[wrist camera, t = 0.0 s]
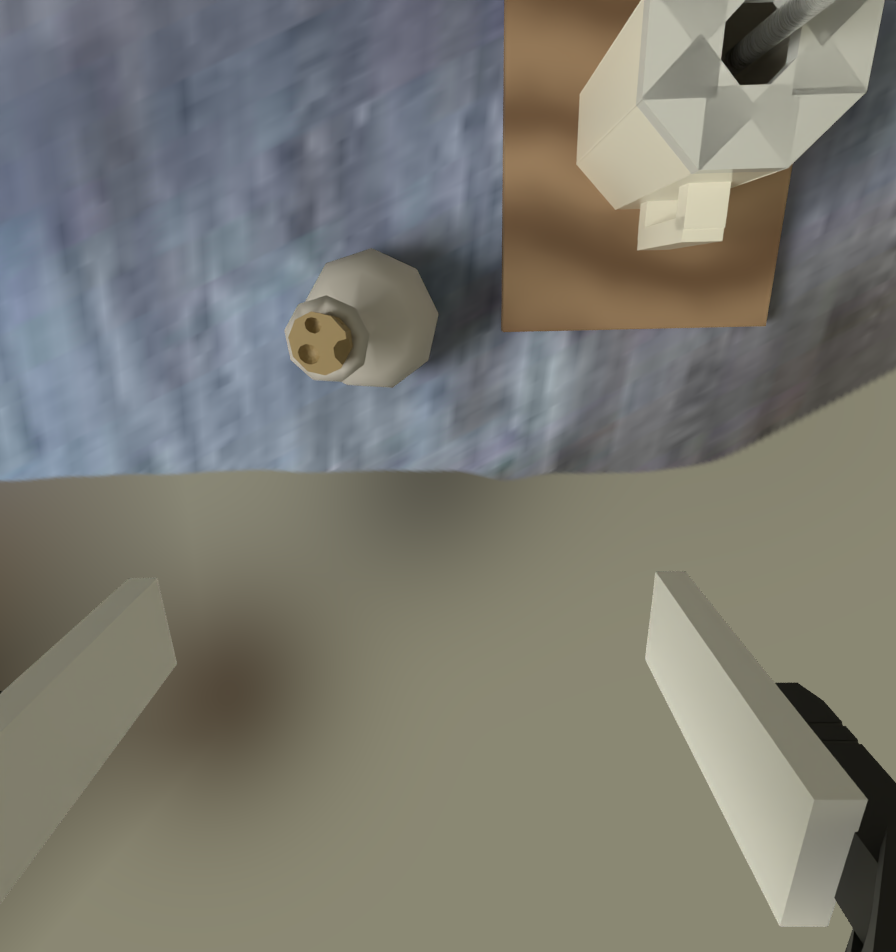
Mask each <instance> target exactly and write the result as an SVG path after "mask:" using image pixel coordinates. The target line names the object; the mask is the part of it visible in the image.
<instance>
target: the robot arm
mask: <svg viewBox="0 0 896 952" xmlns="http://www.w3.org/2000/svg"><path fill="white" fill-rule="evenodd" d="M645 660H646V662H647V664H648V666H649V668H650V670H651V672H652V674H653V676H654V678H655V680H656V682H657V684H658V686H659V688H660V689H661V692H662V694H663V696H664V698H665V699H666V702H667V704H668V706H669V707H670V710H671V711H672V713H673V715H674V717H675V719H676V721H677V723H678V725H679V727H680V729H681V731H682V733H683V735H684V737H685V739H686V741H687V743H688V745H689V747H690V749H691V751H692V753H693V755H694V757H695V759H696V761H697V763H698V765H699V767H700V769H701V771H702V773H703V775H704V777H705V779H706V781H707V783H708V785H709V787H710V789H711V791H712V793H713V795H714V797H715V799H716V801H717V803H718V805H719V807H720V809H721V811H722V813H723V814H724V817H725V819H726V821H727V823H728V824H729V827H730V828H731V830H732V832H733V834H734V836H735V838H736V840H737V842H738V844H739V846H740V848H741V850H742V852H743V854H744V856H745V858H746V860H747V862H748V864H749V866H750V868H751V870H752V872H753V874H754V876H755V878H756V880H757V882H758V884H759V886H760V888H761V890H762V892H763V894H764V896H765V898H766V900H767V902H768V904H769V906H770V908H771V910H772V912H773V914H774V916H775V918H776V920H777V922H778V924H779V926H782V927H815V926H816V927H823V926H825V927H827V926H828V925H829V921H830V918H831V915H832V912H833V909H834V906H835V902H836V901H837V903H838V905H839V906H840V908H841V909H842V911H843V913H844V914H845V916H846V917H847V919H848V921H849V922H850V924H851V926H852V927H853V930H852V933H851V936H850V939H849V942H848V945H847V948H846V951H845V952H896V783H895V782H894V780H893V779H892V778H891V777H890V776H889V775H888V774H887V772H886V771H885V770H884V769H883V768H882V767H881V766H880V765H879V763H878V762H877V761H876V760H875V759H874V758H873V757H872V755H871V754H870V753H869V752H868V751H867V750H866V749H865V747H864V746H863V745H862V744H859V743H858V740H857V738H855V736H854V735H853V734H852V733H851V732H850V730H848V728H847V727H846V726H843V725H842V721H841V720H840V719H839V718H838V717H837V716H836V715H835V713H834V712H833V711H832V710H831V709H830V708H829V707H828V705H827V704H826V703H825V702H824V701H823V700H821V699H820V698H819V697H817V696H816V695H814V694H813V693H811V692H810V691H808V690H807V689H806V688H804V687H803V686H801V685H800V684H798V683H774V681H773V680H772V679H771V678H770V676H769V675H768V674H767V673H766V671H765V670H764V669H763V668H762V667H761V665H760V664H759V663H758V661H757V660H756V659H755V658H754V656H753V655H752V654H751V653H750V651H749V650H748V649H747V648H746V646H745V645H744V644H743V643H742V641H741V640H740V639H739V638H738V637H737V635H736V634H735V633H734V632H733V630H732V629H731V628H730V626H729V625H728V624H727V623H726V621H725V620H724V619H723V618H722V616H721V615H720V614H719V613H718V611H717V610H716V609H715V608H714V606H713V605H712V604H711V603H710V601H709V600H708V599H707V598H706V596H705V595H704V594H703V593H702V591H701V590H700V589H699V588H698V587H697V585H696V584H695V583H694V581H693V580H692V579H691V578H690V576H689V575H688V574H687V573H686V572H685V571H658V572H656V573H655V581H654V590H653V598H652V607H651V615H650V624H649V632H648V641H647V649H646V657H645ZM176 665H177V662H176V658H175V653H174V649H173V644H172V640H171V636H170V631H169V627H168V623H167V618H166V614H165V609H164V605H163V601H162V596H161V592H160V587H159V583H158V579H157V578H129V579H128V580H126V581H125V582H124V583H123V584H122V585H121V586H120V587H119V588H117V589H116V590H115V591H114V592H113V593H112V594H111V595H110V596H109V597H107V598H106V599H105V600H104V601H103V602H102V603H101V604H100V605H99V606H98V607H96V608H95V609H94V610H93V611H92V612H91V613H90V614H89V615H87V616H86V617H85V618H84V619H83V620H82V621H81V622H80V623H79V624H77V625H76V626H75V627H74V628H73V629H72V630H71V631H70V632H69V633H67V634H66V635H65V636H64V637H63V638H62V639H61V640H60V641H59V642H58V643H56V644H55V645H54V646H53V647H52V648H51V649H50V650H49V651H47V652H46V653H45V654H44V655H43V656H42V657H41V658H40V659H38V660H37V661H36V662H35V663H34V664H33V665H32V666H31V667H30V668H28V670H26V671H25V672H24V673H23V674H22V675H21V676H20V677H18V678H17V679H16V680H15V681H14V682H13V683H12V684H11V685H10V686H8V688H6V689H5V690H4V691H0V904H1V903H2V901H3V900H4V898H5V897H6V896H7V894H8V893H9V892H10V890H11V889H12V887H13V886H14V885H15V884H16V882H17V881H18V879H19V878H20V877H21V875H22V874H23V873H24V871H25V870H26V868H27V867H28V866H29V864H30V863H31V862H32V860H33V859H34V858H35V856H36V855H37V854H38V852H39V851H40V850H41V848H42V847H43V845H44V844H45V843H46V841H47V840H48V839H49V837H50V836H51V835H52V833H53V832H54V830H55V829H56V828H57V826H58V825H59V824H60V822H61V821H62V820H63V818H64V817H65V816H66V814H67V813H68V811H69V810H70V809H71V807H72V806H73V805H74V803H75V802H76V801H77V799H78V798H79V796H80V795H81V793H82V792H83V791H84V790H85V788H86V787H87V786H88V784H89V783H90V782H91V780H92V779H93V777H94V776H95V775H96V773H97V772H98V771H99V769H100V768H101V766H102V765H103V764H104V762H105V761H106V760H107V758H108V757H109V756H110V754H111V753H112V752H113V750H114V749H115V747H116V746H117V745H118V743H119V742H120V740H121V739H122V738H123V737H124V735H125V734H126V733H127V731H128V730H129V728H130V727H131V726H132V724H133V723H134V722H135V720H136V719H137V717H138V716H139V715H140V713H141V712H142V711H143V709H144V708H145V707H146V705H147V704H148V703H149V701H150V700H151V699H152V697H153V696H154V694H155V693H156V692H157V690H158V689H159V688H160V686H161V685H162V683H163V682H164V681H165V679H166V678H167V677H168V675H169V674H170V673H171V671H172V670H173V669H174V667H175V666H176Z"/></svg>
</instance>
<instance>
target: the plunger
mask: <svg viewBox="0 0 896 952" xmlns="http://www.w3.org/2000/svg"><path fill="white" fill-rule="evenodd" d="M835 1H836V0H787V1H786V2H785V3H784V4H783V5H781V6H780V7H779V8H778V9H777V10H776V11H774V12H773V13H772V14H771V15H770V16H769V17H767V18H766V19H765V20H764V21H763V22H762V23H760V24H759V25H758V26H757V27H756V28H755V29H753V30H752V31H751V32H750V33H749V34H748V35H746V36H745V37H744V38H743V39H742V40H741V41H739V42H738V43H737V44H736V45H735V46H734V47H732V48H731V49H730V50H729V51H728V52H727V53H725V54H724V55H723V56H722V57H721V61H722V62H723V63H724V65H725V66H726V67H727V69H728V70H729V71H730V73H731V74H732V75H733V77H734V76H736V75H737V74H738V73H740V72H741V71H742V70H744V69H745V68H746V67H748V66H749V65H750V64H752V63H753V62H754V61H756V60H757V59H758V58H760V57H761V56H762V55H764V54H765V53H766V52H768V51H769V50H770V49H772V48H773V47H774V46H776V45H777V44H778V43H780V42H781V41H782V40H784V39H785V38H787V37H788V36H789V35H791V34H792V33H793V32H795V31H796V30H797V29H799V28H800V27H801V26H803V25H804V24H805V23H807V22H808V21H809V20H811V19H812V18H813V17H815V16H816V15H817V14H819V13H820V12H821V11H823V10H824V9H825V8H827V7H828V6H829V5H831V4H832V3H833V2H835Z"/></svg>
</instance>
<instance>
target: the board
mask: <svg viewBox="0 0 896 952" xmlns="http://www.w3.org/2000/svg"><path fill="white" fill-rule="evenodd" d="M640 1H641V0H504V97H503V205H502V313H501V330H502V331H503V332H524V331H568V330H612V329H656V328H700V327H744V326H766V321H767V315H768V309H769V303H770V297H771V291H772V285H773V279H774V273H775V267H776V261H777V255H778V249H779V243H780V237H781V231H782V225H783V219H784V213H785V207H786V201H787V195H788V188H789V182H790V176H791V170H792V164H793V163H792V164H791V165H790V166H789V168H787V169H784V170H781V171H778V172H776V173H773V174H770V175H767V176H764V177H761V178H759V179H756V180H753V181H750V182H747V183H744V184H741V185H739V186H736V187H733V188H730V195H729V202H728V210H727V217H726V225H725V228H724V233H723V240H722V241H720V242H714V243H708V244H702V245H695V246H689V247H683V248H677V249H671V250H637V246H638V228H639V217H640V209H616V210H615V209H614V208H613V206H612V205H611V204H610V203H609V202H608V201H607V199H606V198H605V197H604V196H603V195H602V194H601V193H600V191H599V190H598V189H597V188H596V187H595V186H594V184H593V183H592V182H591V181H590V180H589V179H588V177H587V176H586V175H585V174H584V173H583V172H582V170H581V169H580V168H579V167H578V166H577V165H576V161H577V141H578V121H579V100H580V93H581V91H582V90H583V88H584V87H585V85H586V84H587V82H588V81H589V79H590V78H591V76H592V74H593V73H594V71H595V70H596V68H597V67H598V65H599V64H600V62H601V61H602V59H603V58H604V56H605V54H606V53H607V51H608V50H609V48H610V47H611V45H612V44H613V42H614V41H615V39H616V38H617V36H618V34H619V33H620V31H621V30H622V28H623V27H624V25H625V24H626V22H627V21H628V19H629V18H630V16H631V14H632V13H633V11H634V10H635V8H636V7H637V5H638V4H639V2H640Z"/></svg>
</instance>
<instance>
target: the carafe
mask: <svg viewBox="0 0 896 952" xmlns="http://www.w3.org/2000/svg"><path fill="white" fill-rule="evenodd" d="M786 1H787V0H641V1H640V2H639V4H638V5H637V7H636V8H635V10H634V11H633V13H632V14H631V16H630V18H629V19H628V21H627V22H626V24H625V25H624V27H623V28H622V30H621V31H620V33H619V34H618V36H617V38H616V39H615V41H614V42H613V44H612V45H611V47H610V48H609V50H608V51H607V53H606V54H605V56H604V58H603V59H602V61H601V62H600V64H599V65H598V67H597V68H596V70H595V71H594V73H593V74H592V76H591V78H590V79H589V81H588V82H587V84H586V85H585V87H584V88H583V90H582V91H581V93H580V100H579V121H578V141H577V161H576V165H577V166H578V167H579V168H580V169H581V170H582V172H583V173H584V174H585V175H586V176H587V177H588V179H589V180H590V181H591V182H592V183H593V184H594V186H595V187H596V188H597V189H598V190H599V191H600V193H601V194H602V195H603V196H604V197H605V198H606V199H607V201H608V202H609V203H610V204H611V205H612V206H613V208H614V209H615V210H616V209H640V217H639V228H638V246H637V250H671V249H677V248H683V247H689V246H695V245H702V244H708V243H714V242H720V241H722V240H723V233H724V228H725V225H726V217H727V210H728V202H729V195H730V188H733V187H736V186H739V185H741V184H744V183H747V182H750V181H753V180H756V179H759V178H761V177H764V176H767V175H770V174H773V173H776V172H778V171H781V170H784V169H787V168H789V166H790V165H791V164H792V163H794V162H795V161H796V160H797V159H798V158H799V157H800V156H801V155H802V154H803V153H804V152H805V151H806V150H807V149H808V148H809V147H810V146H811V145H812V144H813V143H814V142H815V141H816V140H817V139H818V138H819V137H820V136H821V135H822V134H823V133H824V132H826V131H827V130H828V129H829V128H830V127H831V126H832V125H833V124H834V123H835V122H836V121H837V120H838V119H839V118H840V117H841V116H842V115H843V114H844V113H845V112H846V111H847V110H848V109H849V108H850V107H851V106H852V105H853V104H854V103H855V102H856V101H858V100H859V99H860V98H861V97H862V96H863V95H864V94H865V93H866V92H867V87H868V82H869V77H870V72H871V67H872V62H873V57H874V52H875V47H876V42H877V37H878V32H879V27H880V22H881V17H882V11H883V6H884V1H885V0H836V1H835V2H833V3H832V4H831V5H829V6H828V7H827V8H825V9H824V10H823V11H821V12H820V13H819V14H817V15H816V16H815V17H813V18H812V19H811V20H809V21H808V22H807V23H805V24H804V25H803V26H801V27H800V28H799V29H797V30H796V31H795V32H793V33H792V34H791V35H789V36H788V37H787V38H785V39H784V40H782V41H781V42H780V43H778V44H777V45H776V46H774V47H773V48H772V49H770V50H769V51H768V52H766V53H765V54H764V55H762V56H761V57H760V58H758V59H757V60H756V61H754V62H753V63H752V64H750V65H749V66H748V67H746V68H745V69H744V70H742V71H741V72H740V73H738V74H737V75H736V76H734V77H733V75H732V74H731V73H730V71H729V70H728V69H727V67H726V66H725V65H724V63H723V62H722V61H721V57H722V56H723V55H724V54H725V53H727V52H728V51H729V50H730V49H731V48H732V47H734V46H735V45H736V44H737V43H738V42H739V41H741V40H742V39H743V38H744V37H745V36H746V35H748V34H749V33H750V32H751V31H752V30H753V29H755V28H756V27H757V26H758V25H759V24H760V23H762V22H763V21H764V20H765V19H766V18H767V17H769V16H770V15H771V14H772V13H773V12H774V11H776V10H777V9H778V8H779V7H780V6H781V5H783V4H784V3H785V2H786Z"/></svg>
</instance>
